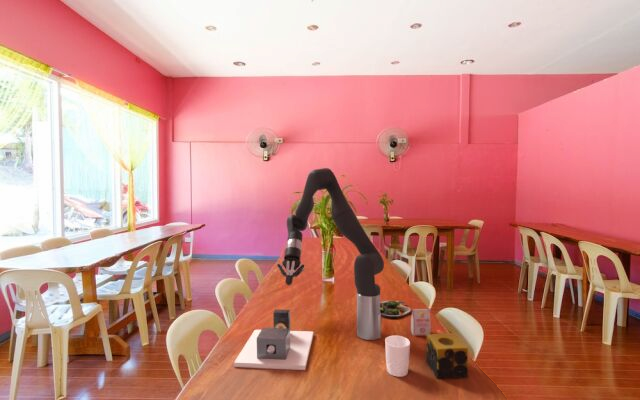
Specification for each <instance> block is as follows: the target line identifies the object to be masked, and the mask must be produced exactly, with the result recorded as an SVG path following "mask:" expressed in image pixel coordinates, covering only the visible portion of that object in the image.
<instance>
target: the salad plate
mask: <svg viewBox="0 0 640 400" xmlns="http://www.w3.org/2000/svg"><path fill="white" fill-rule="evenodd" d="M405 303H406V302H405V301H399V300H397V301H396V300H384V301H380V314H381V318H384V319H385V318H386V319H390V320H392V319H399V318H402V317H404V316H407V315H408V314H409V313H411V312H412V309H411V308H410V307H409V306H406V305H403V304H405ZM401 311H403V313H401Z"/></svg>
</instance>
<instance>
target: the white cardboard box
mask: <svg viewBox="0 0 640 400" xmlns="http://www.w3.org/2000/svg"><path fill="white" fill-rule="evenodd" d="M431 321H432V320H431V313H430V309H429V308H421V309H420V308H415V309H414V308H413V309H411V316H410V333H411V334H412V336H414V337H415V336H416V337H417V336H420V337H421V336H425V337H426V335H427V334H431V326H432V325H431V323H432V322H431Z"/></svg>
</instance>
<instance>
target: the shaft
mask: <svg viewBox="0 0 640 400" xmlns="http://www.w3.org/2000/svg"><path fill="white" fill-rule="evenodd" d="M272 314H273V315H272V316H273V319H272V320H273V328H286V329H290V330H291V309H274V310H273V313H272ZM275 348H276V345H269V347H268V349H267V352H268V353H269V354H273V353H274V350H275Z"/></svg>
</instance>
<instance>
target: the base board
mask: <svg viewBox="0 0 640 400" xmlns="http://www.w3.org/2000/svg"><path fill="white" fill-rule="evenodd" d="M261 330H262V329H254V331H253V332H252V334H251V335H250V337H248V339H247V342H246V343H245V345H244V346H243V348H242V349H241V351H240V353H239V354H238V356H237V357H236V358H235V360H234V363H233V367H234V368H251V369H252V368H253V369H254V368H255V369H275V370H293V371H295V370H296V371H297V370H299V371H306V368H307V364H308V359H309V356H310V351H311V347H312V343H313V339H314V331H308V330H307V331H304V330H302V331H301V330H290V350H289V352H288V355H287V358H286V360H280V359H257V337H258V335H259V333H260V332H261Z"/></svg>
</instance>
